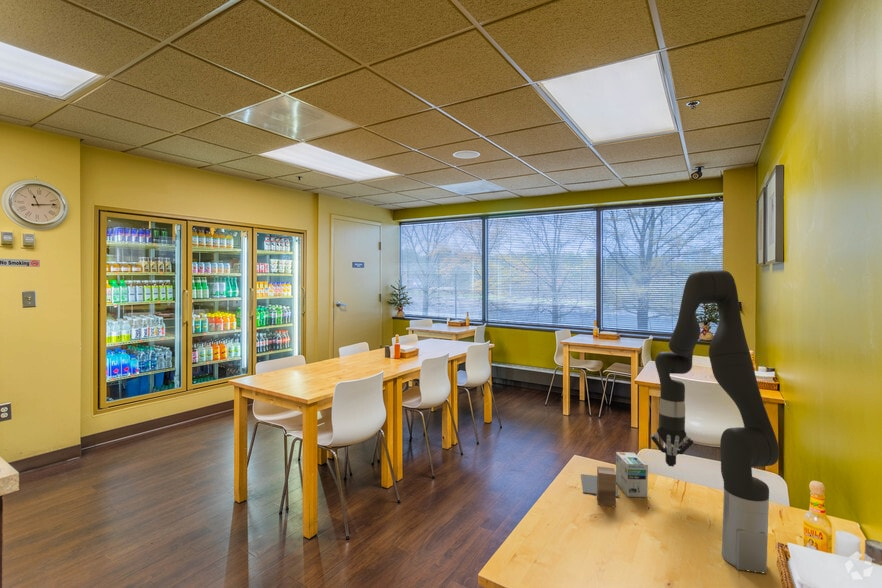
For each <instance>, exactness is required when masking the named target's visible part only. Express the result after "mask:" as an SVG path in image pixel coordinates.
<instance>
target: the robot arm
mask: <svg viewBox="0 0 882 588" xmlns="http://www.w3.org/2000/svg"><path fill="white" fill-rule="evenodd" d="M736 284H737V283H736V280H735V278H734V276H733V275H732V273H730V272H729V271H728V270H725V269H724V270H723V269H722V270H719V269H717V270H716V269H715V270H696V271H693V272H692V273H690V274H689V275H688V277H687V278H686V281H685V285H684V287H683V293H682V297H681V302H680V305H679V306H680V307H679V312H678V317H677V321H676V325H675V327H674V330H673V331H672V332H673V333H672V335H671V336H670V339H669V342H668V349H669V350H670V351H661V352H658V353H657V355H656V356H655V360H654V362H655V368H656V372H657V375H658V380H659V384H660V385H659V386H660V393H659V394H660V397H659V398H660V400H659V407H658V428H657V430H656V432H655V433H651V434H650V435H649V437H650V438H651V440H652V442H654V444H655V445H656V447H657V448H658V449H659V450H660V452H661V453H664V454H665V463H666V465H667V466H668V467H675V465H676V464H677V455H683V454H684V453H685V452H686V451H688V449H690V447H691V446H692V445H693V444H694V441H693V439H692V438H691V437H689V436H687V432H686V431H685V430H686V403H685V401H686V399H685V398H686V386H685V383H683V382H682V381H679V380H676V379H672V378H671V374H672V375H673V374H674V375H675V374H678V375H683V374H684V375H685V374H687V373H689V372H690V371H691V370H692V368H693V355H694V350H695V348H696V346H697V343H698V342H699V339H700V337H701V326H700V323H699V321H698V318H697V315H696V313H697V310H698V309H699V306H700V305H702V304H703V305H708V304H716V307H717V311H718V323H717V324H718V325H717V328H716V331H715V332H714V334H713V337H712V339H711V342H710V344H709V348H708V357H709V363H710V366H711V371H712V374H713V377H714V379H715V380H716V382H717V383H718V385H719V386H720V387H721V388H722V389H723V390H724V392H725V393H726V394H727V396H729V397H730V399H731V400H732V401H733V402H734V404H735V405H736V407H737V409H738V412H739V413H740V416H741V419H742V423H743V427H741V426H740V427H729V428H726V429H725V430H724V431H722V433H721V437H720V444H719V445H720V446H719V449H720V451H719V453H720V472H721V477H722V481H723V499H722V501H723V505H722V507H723V508H722V529H721V530H722V532H721V533H722V534H721V539H722V540H721V541H722V542H721V555H722V557H723V559H724V560H725V561H726V562H727V563H729V564H731V565H732V566H733V567H735V568H736V570H738V571H744V570H749V571H748V572H750V571H756V572H755V573H757V572H764V573H766V574H767V567H768V544H769V543H768V539H769V538H768V537H769V536H768V535H769V508H770V506H769V505H770V487H769V486H768V484H767V483H766V482H764V481H763V480H761V479H759V478H757V477H754V476H753V468H754V467H755V468H756V467H771V466H774V465H775V464H776V463H778V461H779V458H780V447H779V443H778V440H777V436H776V433H775V431H774V428H773V425H772V422H771V420H770V418H769V415H768V412H767V409H766V406H765V403H764V401H763V398H762V395H761V394H762V393H761V391H760V388H759V384H758V379H757V375H756V373H755V367H754V363H753V359H752V356H751V351H750V348H749V345H748V341H747V338H746V334H745V330H744V326H743V321H742V316H741V308H740V301H739V293H738V289H737V285H736ZM660 439H661V440H662V442H663V443H664V446H663V445H662V444H661V442H660ZM682 441H683V442H682ZM679 444H680V445H679ZM752 467H753V468H752Z"/></svg>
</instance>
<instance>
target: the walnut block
mask: <svg viewBox="0 0 882 588" xmlns="http://www.w3.org/2000/svg"><path fill="white" fill-rule="evenodd" d="M596 469H597V470H596V472H597V473H596V476H597V495H596V500H597V505H598V506H605V507H612V506H615V507H616V504H617V503H616V499H617V497H616V487H617V483H616V469H615V467H607V466H597V468H596Z"/></svg>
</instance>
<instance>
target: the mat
mask: <svg viewBox="0 0 882 588" xmlns="http://www.w3.org/2000/svg"><path fill="white" fill-rule="evenodd" d="M580 478H581V486H582V491H583V494H587V495H595V496H597V475H592V474H584V473H583V474H582V473H581V474H580ZM618 497H619V498H620V494H619V491H618V488H617V486H616V498H618Z"/></svg>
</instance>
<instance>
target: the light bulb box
mask: <svg viewBox="0 0 882 588" xmlns="http://www.w3.org/2000/svg"><path fill="white" fill-rule="evenodd" d="M615 473H616V485H617V486H618V487H619V488H620V489H621V491H622V492H623V493H624V494H625V496H627V497H629V498H648V494H649V493H648V485H649V483H648V481H649V477H648V476H649V464H648V463H647V462H646V461H644V460H643V459H642V458H641V457H639V455H638V454H636V453H635V452H625V451H624V452H621V451H615Z"/></svg>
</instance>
